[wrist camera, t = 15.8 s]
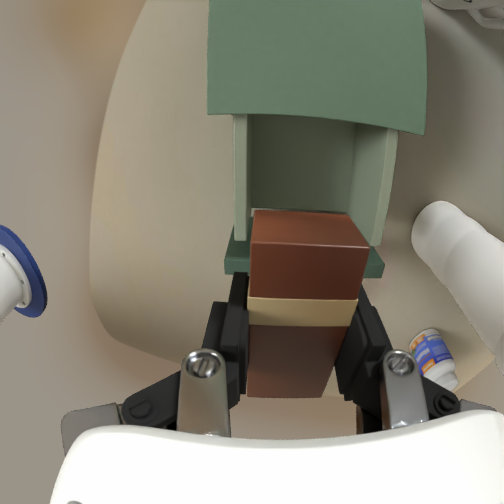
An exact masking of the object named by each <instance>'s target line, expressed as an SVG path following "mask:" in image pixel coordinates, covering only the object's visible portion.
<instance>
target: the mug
mask: <svg viewBox="0 0 504 504" xmlns="http://www.w3.org/2000/svg"><path fill="white" fill-rule="evenodd" d="M430 1H431V2H432V3H434V4H435V5H437V6H439V7H441V8H444V9H449V10H457V9H466V10H467V11H468V13H469V14H470V15H471V16H472V18H473V19H474V20H475V21H476V22H477V23H478V24H480V25H481V26H483V27H485V28H489V29H500V30H504V19H496V18H485V17H483V16H482V15H481V14H480V13H479V11H478V9H479V8H489V7H500V8H502V9H503V10H504V0H430Z"/></svg>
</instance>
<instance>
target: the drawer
mask: <svg viewBox="0 0 504 504" xmlns="http://www.w3.org/2000/svg"><path fill="white" fill-rule="evenodd" d="M398 132H399V130H395V129H390V128H385V127H380V126H374V125H369V124H363V123H356V122H349V121H342V120H334V119H325V118H315V117H304V116H289V115H268V114H234V226H233V229H232V233H231V236H230V240H229V244H228V248H227V251H226V255H225V259H224V268H225V274H230V275H234V272H248V275H250V241H251V233H252V226H253V217H250V214H251V208H278V209H300V210H319V211H336V212H347V214H348V215H349V216H350V218H351V219H352V221H353V223H354V224H355V226H356V227H357V228H358V230H359V231H360V233H361V234H362V236H363V237H364V239H365V240H366V242H367V244H368V245H369V247H370V252H369V257H368V261H367V264H366V268H365V272H364V276H363V278H381V277H382V274H383V270H384V267H385V264H384V262H383V261H382V259H381V258H380V256H379V255H378V253H377V252H376V250H375V249H374V247H373V246H380V244H381V239H382V235H383V230H384V226H385V221H386V216H387V211H388V205H389V200H390V194H391V188H392V182H393V175H394V168H395V160H396V152H397V143H398Z"/></svg>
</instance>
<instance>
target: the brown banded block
mask: <svg viewBox="0 0 504 504" xmlns="http://www.w3.org/2000/svg"><path fill="white" fill-rule="evenodd" d="M369 252H370V247H369V245H368V244H367V242H366V240H365V239H364V237H363V236H362V234H361V233H360V231H359V230H358V228H357V227H356V226H355V224H354V223H353V221H352V220H351V218H350V217H349V216H348V215H337V214H324V213H308V212H291V211H272V210H255V211H254V218H253V226H252V233H251V241H250V278H249V288H248V297H247V310H248V311H249V343H248V378H247V396H248V397H261V398H320V397H321V396H322V394H323V392H324V389H325V387H326V385H327V382H328V380H329V377H330V375H331V372H332V370H333V367H334V365H335V362H336V359H337V357H338V354H339V351H340V348H341V346H342V343H343V340H344V337H345V334H346V331H347V328H348V326H350V323H351V320H352V317H353V314H354V312H355V309H356V306H357V303H358V298H357V297H358V294H359V290H360V287H361V283H362V279H363V276H364V272H365V268H366V264H367V261H368V257H369Z"/></svg>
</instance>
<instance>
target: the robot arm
mask: <svg viewBox="0 0 504 504" xmlns="http://www.w3.org/2000/svg"><path fill="white" fill-rule="evenodd" d="M249 278H250V276H248V272H234V275H233V280H232V285H231V290H230V295H229V301H228V302H215V301H214V302H213V305H212V309H211V312H210V316H209V320H208V324H207V328H206V332H205V336H204V340H203V344H202V348H201V349H196V350H194V351H191V352H190V353H188V354H187V355H186V356H185V357H184V359H183V361H182V364H181V370H180V371H178V372H176V373H174V374H172V375H170V376H169V377H167V378H165V379H163V380H161V381H159V382H157V383H155V384H153V385H151V386H149V387H147V388H145V389H143V390H141V391H139V392H137V393H135V394H133V395H131V396H130V397H128V398H127V399H126V400H125V401H124V403H123V404H118V405H117V404H116V403H111V404H106V405H101V406H96V407H91V408H86V409H80V410H74V411H71V412H68V413H67V414H66V415H65V416H64V417H63V419H62V421H61V433H62V440H63V448H64V454H65V460H64V462H63V464H62V467H61V469H60V472H59V475H58V478H57V481H56V484H55V486H54V490H53V494H52V497H51V501H50V504H504V415H502V414H501V413H498V412H497V411H496V410H495V409H494V408H492V407H489V406H486V405H482V404H478V403H474V402H471V401H467V400H464V399H461V400H460V401H459V400H458V398H457V397H456V395H454V393H452V392H451V391H449V390H447V389H446V388H444V387H442V386H440V385H439V384H437V383H435V382H433V381H431V380H430V379H428V378H426V377H424V376H423V375H421V374H420V372H419V368H418V364H417V361H416V359H415V358H414V357H413V356H412V355H411V354H410V353H408V352H406V351H404V350H399V349H396V350H393V348H392V345H391V343H390V340H389V338H388V335H387V333H386V331H385V328H384V326H383V323H382V321H381V319H380V316H379V314H378V312H377V309H376V308H375V307H374V306H371V304H370V302H369V299H368V297H367V295H366V293H365V290H364V288H363V286H362V284H361V287H360V290H359V294H358V297H357V298H358V303H357V306H356V309H355V312H354V314H353V317H352V320H351V323H350V326H348V328H347V331H346V334H345V337H344V340H343V343H342V346H341V348H340V351H339V354H338V357H337V359H336V362H335V365H334V366H335V371H336V376H337V382H338V388H339V392H340V394H344V400H345V401H351V400H353V403H355V404H356V405H357V407H356V413H357V415H356V418H357V419H356V422H357V426H356V427H357V432H356V435H353V436H343V437H333V438H320V439H302V440H301V439H300V440H263V439H261V440H260V439H242V438H231V427H230V412H229V409H231V408H232V407H234V406H235V405H236V404H238V401H240V394H246V383H247V371H248V343H249V311H248V310H247V297H248V288H249ZM31 299H32V292H31V287H30V283H29V281H28V278H27V276H26V274H25V272H24V270H23V268H22V266H21V265H20V263H19V262H18V260H17V259H16V257H15V256H14V255H13V254H12V253H11V252H10V251H9V250H8V249H7V248H6V247H4V246H3V245H1V244H0V324H1V323H2V322H3V321H4V319H5V318H6V317H7V316H8V315H9V313H10V312H11V311H12V310H13V309H14V308H15V307H19V308H25V307H27V306H28V305H29V303H30V302H31Z"/></svg>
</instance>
